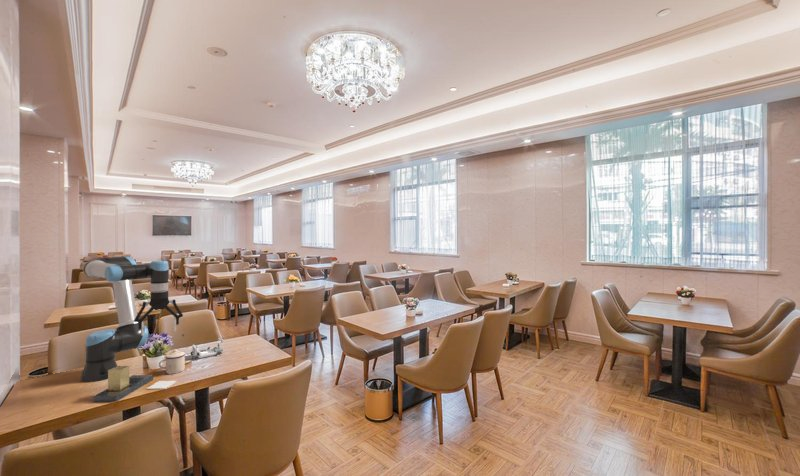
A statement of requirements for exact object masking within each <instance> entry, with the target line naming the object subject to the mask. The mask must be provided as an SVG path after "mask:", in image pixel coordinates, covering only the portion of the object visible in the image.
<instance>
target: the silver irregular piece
mask: <svg viewBox="0 0 800 476" xmlns="http://www.w3.org/2000/svg"><path fill="white" fill-rule="evenodd" d="M223 342H224V340H223V338H220V337H218V338H217V342H216V344H217V345H220V344H221V343H223ZM191 346H192V350H191V352H190V356H191V355H193V358H192V359H193V361H197V360H200V359H201V358H202V359H203V358H207V357H213V356H217V355H220V354H222V352H223V351H224V349H223V348H222V347H220V346H219V347H218V346H214V347H213V348H211V347H210V346H208V347H207V349H202V350H200V349H199V347H198V346H196V345H195V344H192V345H191Z"/></svg>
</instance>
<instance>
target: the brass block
mask: <svg viewBox="0 0 800 476" xmlns="http://www.w3.org/2000/svg"><path fill="white" fill-rule="evenodd" d="M129 377H130V365H117V366H116V367H114V368H112V369H110V370H108V378H107V389H108V392H121V391H123V390H124V389H126V388H128V387H129Z"/></svg>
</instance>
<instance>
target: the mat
mask: <svg viewBox="0 0 800 476" xmlns="http://www.w3.org/2000/svg"><path fill="white" fill-rule="evenodd" d="M175 383H177V380H158V381H157V382H154V383H153V384H152V385H150V386H148V387H146V390H166V389H168V388H170V387H171V386H172V385H174V384H175ZM167 387H168V388H167Z"/></svg>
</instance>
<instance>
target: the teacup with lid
mask: <svg viewBox="0 0 800 476" xmlns="http://www.w3.org/2000/svg"><path fill="white" fill-rule="evenodd" d="M185 356H186V353H185V352H184V351H179V350H178V349H176V348H175V349H173V351H171V352H170V353H167V354H166V355H165V358H163V359H162V360H160V361H159V362H158V367H159V368H160V369H161V370H165V373H166V374H169V375H173V374H174V375H175V374H179V373H182V372H184V370H185V367H186V366H185V365H186V364H185V363H186V361H185V360H186V359H185ZM164 362H165V366H161V363H164Z"/></svg>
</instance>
